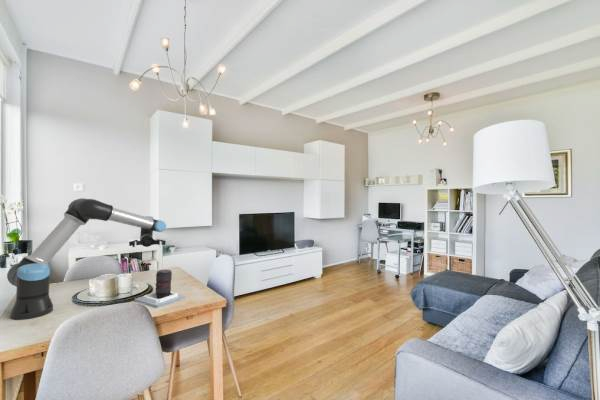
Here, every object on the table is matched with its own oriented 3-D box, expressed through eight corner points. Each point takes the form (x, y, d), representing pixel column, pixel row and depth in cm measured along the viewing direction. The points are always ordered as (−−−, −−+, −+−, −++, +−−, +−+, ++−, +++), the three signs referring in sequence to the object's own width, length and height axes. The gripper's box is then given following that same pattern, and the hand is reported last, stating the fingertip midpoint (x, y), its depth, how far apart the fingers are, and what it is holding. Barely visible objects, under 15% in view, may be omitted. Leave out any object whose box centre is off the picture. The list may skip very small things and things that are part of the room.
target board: (134, 300, 159) (134, 296, 159) (163, 292, 174) (163, 287, 174) (157, 308, 149) (157, 302, 149) (185, 298, 165) (185, 293, 165)
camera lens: (165, 299, 158) (166, 273, 158) (152, 298, 159) (153, 272, 160) (173, 295, 166) (174, 269, 166) (161, 294, 167) (162, 268, 168)
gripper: (167, 245, 195) (170, 250, 177) (124, 246, 183) (123, 252, 164) (167, 234, 196) (171, 238, 177) (125, 235, 183) (124, 239, 165)
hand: (148, 244), depth 171 cm, fingers open, 13 cm apart
